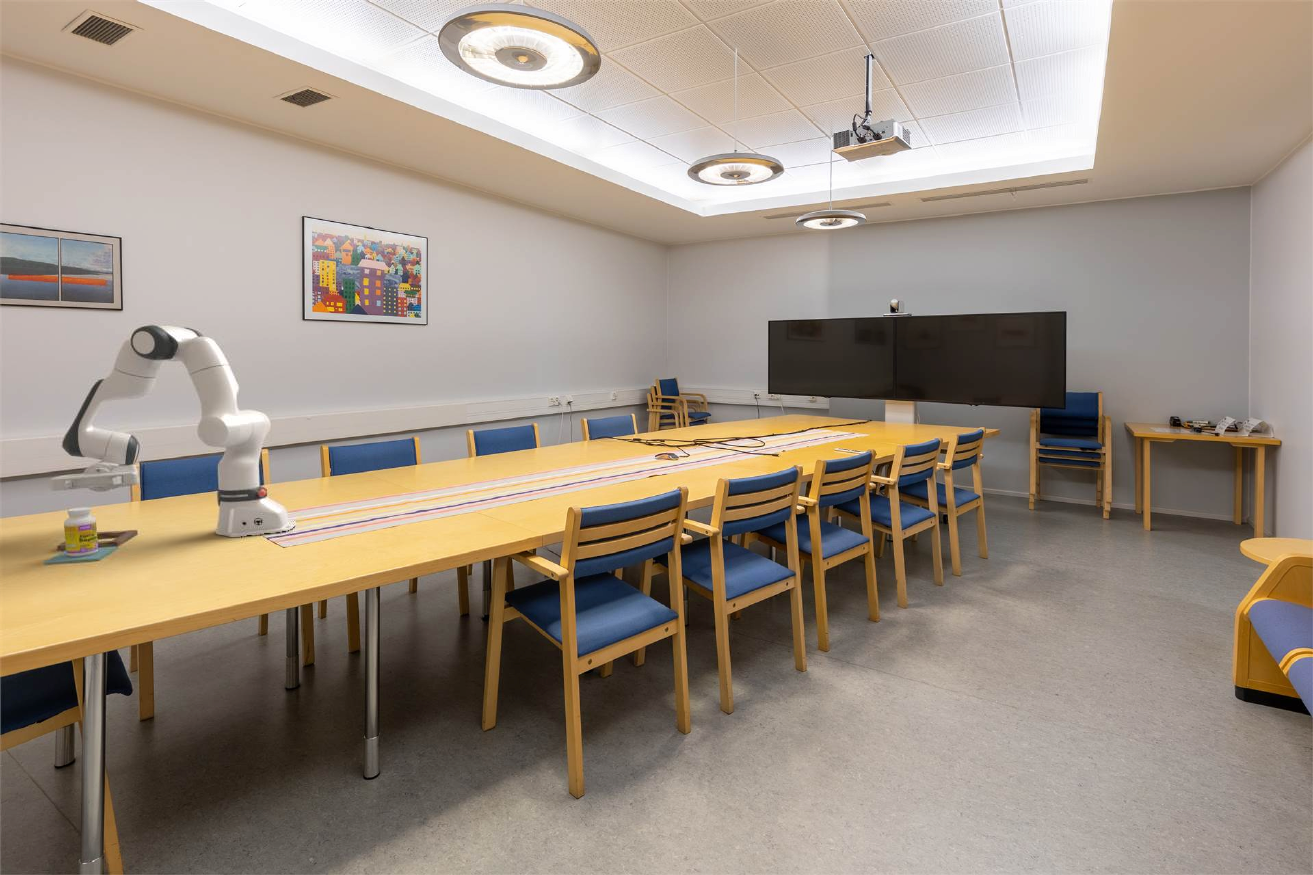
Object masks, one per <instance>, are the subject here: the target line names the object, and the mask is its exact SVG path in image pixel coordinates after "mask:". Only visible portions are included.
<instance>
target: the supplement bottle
mask: <svg viewBox="0 0 1313 875" xmlns="http://www.w3.org/2000/svg"><path fill="white" fill-rule="evenodd" d="M67 515H68V517H69V518H67V519H65V520H64V522H63V527H64V528H63V530H64V542H65V543H66V550H65V551H66V554H67V556H70V557H80V556H87V555H91V554H94V553H96V552H97V551H98V541H99V540H98V538H97V532H98V531H97V520H96V518H95V517H94V516H92V515H91V507H88V506H84V507H83V506H82V507H74V508H69V509H67Z"/></svg>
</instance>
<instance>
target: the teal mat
mask: <svg viewBox="0 0 1313 875" xmlns="http://www.w3.org/2000/svg"><path fill="white" fill-rule="evenodd" d="M118 549H120V548H119V546H117V547H102V548H98V551H97V552H96V553H94V554H91V555H87V556H80V557H70V556H67V554H66V550H63V551H62V552H60V553H58V554H56V555H55V556H52V557H51V558H49V559H47V560H45V561H44V562H43V563H42V564H43V565H56V564H57V563H59V564H71V563H81V562H83V563H85V562H97V561H98V562H99V561H100V560H102V559H104V558H106V557H107V556H109V555H110V554H112V553H114V552H115V551H117V550H118ZM57 565H58V564H57Z"/></svg>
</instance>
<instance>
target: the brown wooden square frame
mask: <svg viewBox="0 0 1313 875" xmlns="http://www.w3.org/2000/svg"><path fill="white" fill-rule="evenodd" d="M138 534H139V533H138V529H129V530H114V531H113V530H112V531H97V539H112V538H113V539H112V540H103V541H102V540H100V541H99V540H97V541H98V548H102V547H117V546H118V547H119V546H121V545H123V544H125V543H126V542H128V541H130V540H131V539H133V538H134V537H136V536H138ZM56 547H57V548H56V550H57V551H58V552H59V550H61V551H66V543H65V541H64V542H62V543H60V544H58V545H57V546H56Z"/></svg>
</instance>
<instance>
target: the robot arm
mask: <svg viewBox="0 0 1313 875" xmlns="http://www.w3.org/2000/svg"><path fill="white" fill-rule="evenodd" d="M166 361H168V362H182V364H184V366H185V368H186V370H187V373H188V375H189V378H190V379H191V382H192V384H193V386H194V388H195V391H196V393H197V395H198V399H199V402H200V408H201V409H200V410H201V418H200V421H199V423H198V424H197V432H196V433H197V436H198V438H199V440H200V441H201V442H202V444H204V445H207V446H209V447H213V448H225V450H224V454H223V456H222V458H221V459H220V461H219V462H218V464H217V479H218V482H217V483H218V489H217V493H216V497H217V500H216V502H217V506H218V507H219V508H218V509H219V510H218V519H217V523H216V524H217V526H216V528H215V534H216V535H219V536H225V537H229V538H240V537H241V536H242V537H248V536H247V535H252V536H261V535H265V534H264V533H271V534H277V533H276V532H280V533H283V532H282V531H286V530H289V531H291V530H290V529H291V528H293V527H294V526H295V525H296V526H297V521H296V519H295V520H294V519H289V518H290V517H289V514H288V511H287V508H286V507H285V506H284V505H283V504H280V503H278V502H277V501H275V500H273V499H271V498H270V497H268V487H267V486H265V487H264V486H262V485H260V466H259V465H260V457H261V452H262V448H263V444H264V442H265V438H266V437H267V435H268V434H269V433H270V431H271V428H272V427H271V426H272V425H271V420H270V418H269V417H268V416H267V415H266V413H264V412H262V411H258V410H254V409H239V406H238V402H237V401H238V400H237V397H238V394H239V393H240V392H239V391H240V386H239V383H238V381H237V379H236V376H235V374H234V373H233V371H232V367H231V365H230V364H229V362H228V360H227V358H226V356H225V354H224V352H223V350H222V349H221V348H220V346H219V345H218V344H217V342H216V341H215V340H214V339H212V338H211V337H208V336H204V335H203V334H202V333H200V332H199V331H198V330H195V329H193V328H191V327H190V328H189V327H181V326H174V325H165V324H164V325H161V324H160V325H154V324H151V325H150V324H149V325H143V326H141V327H138V328H136V329H135V330H134V331H133V332H132V334H131V335H130V338H127V339H126V340H124V341H123V343H122V346H121V347H120V349H119V350H118V353H117V356H116V358H115V361H114V364H113V369H112V371H111V373H110V374H109V375H108V376H107V377H106V378H103V379H102V378H101V379H98V380H97V381H96V382H95V383H94V384H93V386H92V387H91V388H90V390H89V392H88V394H87V395H86V397H85V399H84V401H83V403H82V404H81V407H80V408H79V411H78V412H77V415H76V416H75V419H74V420H73V422H72V424H71V425H70V428H69V429H68V430H67V431H66V433H65V434H64V436H63V438H62V442H61V448H62V449H63V450H64V451H65V452H66V453H67V454H68V455H69V456H71V457H78V458H89V459H95V460H99V461H98V462H96V463H94V464H92V465H90V466H88V467H86V468H85V469H84V471H83V472H82V473H76V474H75V473H74V474H64V475H63V474H62V475H58V476H55V477H51V478H50V479H49V485H50V486H49V487H50V489H51V491H66V490H67V491H68V490H79V489H88V490H91V491H94V492H98V493H102V492H108V491H110V490H115V489H118V488H124V487H129V486H136V485H138V484H139V483H140V477H139V469H138V468H137V465H136V463H137V460H138V457H139V454H140V442H139V441H138V439H137V437H136V436H135V435H134V434H129V433H125V432H120V431H119V432H118V431H113V430H108V429H103V428H99V427H95V426H93V422H94V421H95V418H96V416H97V414H98V412H99V410H100V408H101V407H102V405H103V404H104V403H106V402H111V401H119V400H120V401H121V400H122V401H123V400H133V399H139V398H142V397H144V396H146V395H148V394H150V393H151V392H152V391H153V389H154V388H155V386H156V382H157V380H158V376H159V371H160V367H161V365H162V364H163V363H164V362H166ZM296 526H295V527H296ZM293 529H294V528H293ZM286 532H287V531H286ZM260 534H261V535H260Z"/></svg>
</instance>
